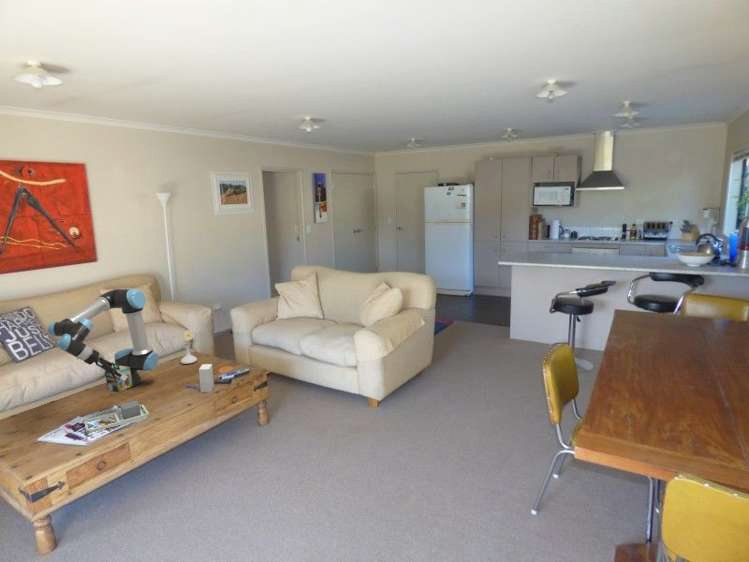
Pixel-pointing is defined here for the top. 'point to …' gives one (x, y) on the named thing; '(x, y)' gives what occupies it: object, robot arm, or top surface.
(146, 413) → the caddy
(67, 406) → the top surface
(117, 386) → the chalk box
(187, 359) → the flower in vase
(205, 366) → the skincare box
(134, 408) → the grey block
